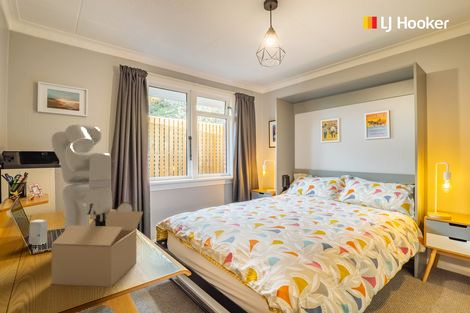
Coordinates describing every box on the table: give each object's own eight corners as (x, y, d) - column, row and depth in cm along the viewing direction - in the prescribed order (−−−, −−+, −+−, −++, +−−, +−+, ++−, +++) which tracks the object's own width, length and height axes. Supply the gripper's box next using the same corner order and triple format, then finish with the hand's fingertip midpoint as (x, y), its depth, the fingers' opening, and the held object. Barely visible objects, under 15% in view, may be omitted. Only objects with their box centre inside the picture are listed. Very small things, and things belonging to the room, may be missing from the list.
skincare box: (28, 246, 115) (28, 221, 115) (36, 242, 119) (36, 219, 119) (40, 246, 115) (40, 222, 114) (48, 243, 119) (47, 219, 119)
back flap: (98, 210, 107) (98, 211, 107) (88, 227, 100) (88, 228, 100) (142, 211, 106) (143, 212, 106) (135, 229, 99) (135, 230, 99)
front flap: (52, 244, 82) (52, 243, 82) (70, 226, 90) (70, 225, 90) (110, 246, 81) (109, 245, 81) (122, 227, 89) (122, 226, 89)
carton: (51, 284, 82) (51, 244, 82) (86, 260, 100) (86, 228, 100) (111, 286, 81) (111, 246, 81) (136, 262, 99) (136, 229, 99)
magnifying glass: (116, 241, 121) (116, 203, 121) (115, 240, 123) (115, 203, 122) (133, 237, 128) (133, 201, 127) (132, 236, 129) (132, 201, 128)
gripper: (103, 182, 99) (103, 224, 99) (77, 186, 84) (77, 237, 85) (120, 182, 99) (120, 225, 99) (97, 187, 84) (97, 237, 84)
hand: (100, 230), depth 92 cm, fingers closed
